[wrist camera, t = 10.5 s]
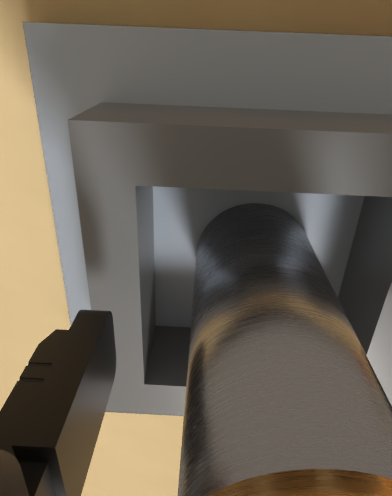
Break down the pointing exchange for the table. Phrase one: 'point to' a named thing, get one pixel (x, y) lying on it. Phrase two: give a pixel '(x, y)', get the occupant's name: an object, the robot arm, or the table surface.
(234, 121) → the socket
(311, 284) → the cylinder
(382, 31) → the table surface
